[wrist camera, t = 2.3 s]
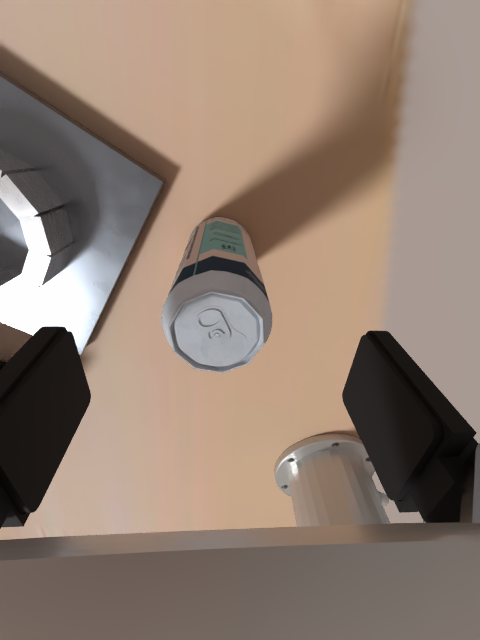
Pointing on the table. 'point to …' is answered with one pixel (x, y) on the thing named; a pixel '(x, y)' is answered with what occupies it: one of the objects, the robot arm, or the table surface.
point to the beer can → (217, 299)
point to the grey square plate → (63, 216)
